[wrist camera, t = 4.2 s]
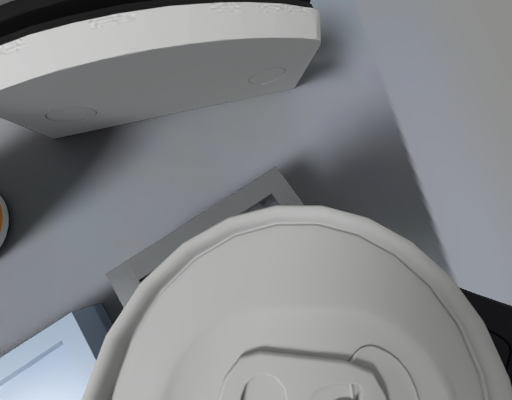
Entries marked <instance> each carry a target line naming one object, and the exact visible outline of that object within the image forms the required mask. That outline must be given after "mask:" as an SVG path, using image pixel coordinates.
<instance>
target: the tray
mask: <svg viewBox="0 0 512 400" xmlns="http://www.w3.org/2000/svg"><path fill="white" fill-rule="evenodd" d="M112 326H113V324H112V322H111V321H110V319H109V317H108V315H107V313H106V311H105V309H104V307H103V305H102V304H97V305H94V306H91V307H87V308H84V309H80V310H77V311H74V312H71V313H69V314H68V315H66V316H65V317H63V318H62V319H60V320H59V321H57V322H55V323H54V324H52V325H51V326H49V327H48V328H46V329H45V330H43V331H41V332H40V333H38V334H37V335H35V336H34V337H32V338H31V339H29V340H27V341H26V342H24V343H23V344H21V345H20V346H18V347H17V348H15V349H13V350H12V351H10V352H9V353H7V354H6V355H4V356H3V357H1V358H0V400H82V397H83V395H84V392H85V389H86V387H87V384H88V381H89V379H90V376H91V373H92V371H93V368H94V365H95V363H96V360H97V357H98V355H99V352H100V350H101V347H102V344H103V342H104V339H105V336H106V335H107V333H108V332H109V330H110V329H111V327H112Z"/></svg>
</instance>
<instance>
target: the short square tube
mask: <svg viewBox="0 0 512 400" xmlns="http://www.w3.org/2000/svg"><path fill="white" fill-rule="evenodd" d="M275 205H304V204H303V202H302V201H301V200H300V198H299V197H298V196H297V194H296V193H295V192H294V190H293V189H292V188H291V186H290V185H289V183H288V182H287V181H286V179H285V178H284V177H283V175H282V174H281V173H280V171H279V170H278V169H277V167H275V168H273V169H272V170H270V171H268V172H267V173H265V174H264V175H262V176H261V177H259V178H257V179H256V180H254V181H253V182H251V183H249V184H248V185H246V186H245V187H243V188H241V189H240V190H238V191H237V192H235V193H233V194H232V195H230V196H229V197H227V198H226V199H224V200H222V201H221V202H219V203H218V204H216V205H214V206H213V207H211V208H210V209H208V210H206V211H205V212H203V213H202V214H200V215H199V216H197V217H195V218H194V219H192V220H191V221H189V222H187V223H186V224H184V225H183V226H181V227H179V228H178V229H176V230H175V231H173V232H171V233H170V234H168V235H167V236H165V237H164V238H162V239H160V240H159V241H157V242H156V243H154V244H152V245H151V246H149V247H148V248H146V249H144V250H143V251H141V252H140V253H138V254H136V255H135V256H133V257H132V258H130V259H129V260H127V261H125V262H124V263H122V264H121V265H119V266H117V267H116V268H114V269H113V270H111V271H109V272H108V273H106V276H107V278H108V280H109V282H110V283H111V285H112V287H113V289H114V291H115V293H116V294H117V296H118V298H119V300H120V302H121V304H122V305H123V307H125V306H126V304H127V303H128V301H129V300H130V298H131V297H132V295H133V294H134V292H135V290H136V289H137V287H138V286H139V284H140V283H141V282H142V281H143V280H144V279H145V278H146V277H147V276H148V275H149V274H150V273H151V272H153V271H154V270H155V269H156V268H157V267H158V266H159V265H160V264H161V263H162V262H163V261H164V260H165V259H166V258H167V257H168V256H170V255H171V254H172V253H173V252H174V251H175V250H176V249H177V248H178V247H179V246H180V245H181V244H182V243H184V242H186V241H187V240H189V239H190V238H192V237H194V236H196V235H198V234H199V233H201V232H203V231H205V230H207V229H208V228H210V227H212V226H214V225H215V224H217V223H219V222H221V221H223V220H224V219H226V218H228V217H232V216H236V215H240V214H244V213H248V212H252V211H255V210H259V209H263V208H267V207H271V206H275Z"/></svg>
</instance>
